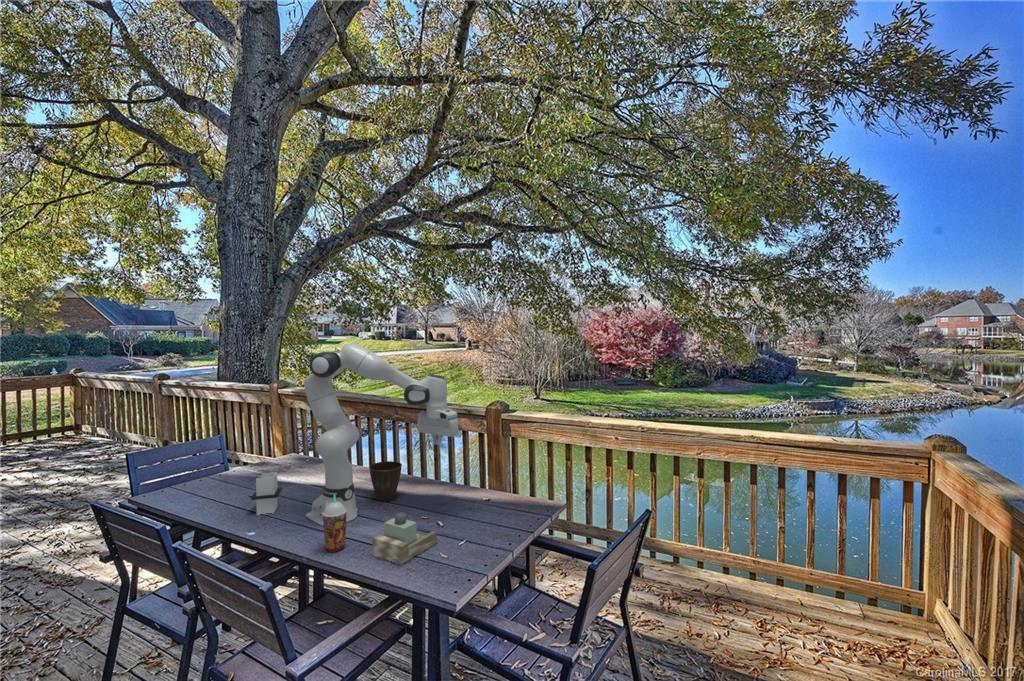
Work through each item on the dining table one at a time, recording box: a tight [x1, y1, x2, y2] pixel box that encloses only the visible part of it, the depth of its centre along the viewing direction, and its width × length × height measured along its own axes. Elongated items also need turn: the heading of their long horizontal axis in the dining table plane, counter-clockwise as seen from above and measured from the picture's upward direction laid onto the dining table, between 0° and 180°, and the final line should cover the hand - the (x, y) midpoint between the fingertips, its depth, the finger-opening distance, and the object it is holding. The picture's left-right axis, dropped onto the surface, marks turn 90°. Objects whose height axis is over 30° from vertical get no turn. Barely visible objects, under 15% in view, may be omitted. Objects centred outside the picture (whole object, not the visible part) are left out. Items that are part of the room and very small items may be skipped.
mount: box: [371, 530, 438, 566], centre depth 171 cm, size 14×19×6 cm
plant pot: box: [368, 460, 403, 503], centre depth 223 cm, size 15×15×16 cm
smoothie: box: [323, 495, 347, 553], centre depth 172 cm, size 8×8×20 cm
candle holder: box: [250, 471, 283, 516], centre depth 209 cm, size 25×24×16 cm
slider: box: [383, 511, 418, 545], centre depth 169 cm, size 10×6×12 cm, turn 60°
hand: (437, 444), depth 201 cm, fingers closed
